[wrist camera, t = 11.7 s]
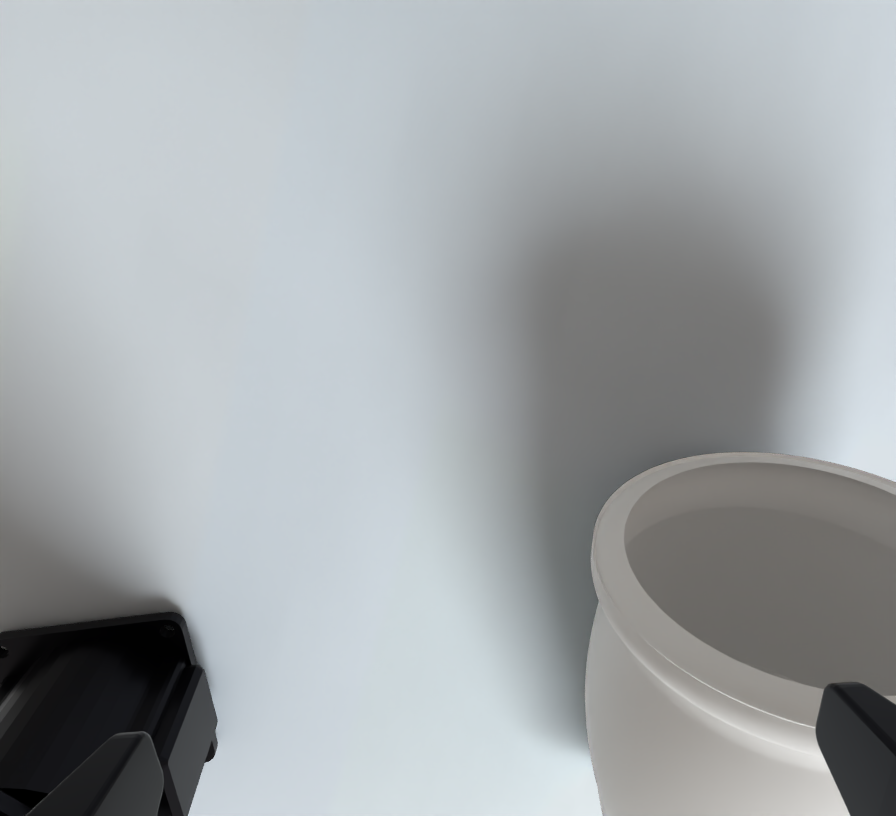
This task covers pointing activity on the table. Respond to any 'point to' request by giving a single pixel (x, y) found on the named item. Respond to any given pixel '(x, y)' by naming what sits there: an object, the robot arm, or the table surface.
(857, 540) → the jar
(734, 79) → the table surface
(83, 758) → the robot arm
